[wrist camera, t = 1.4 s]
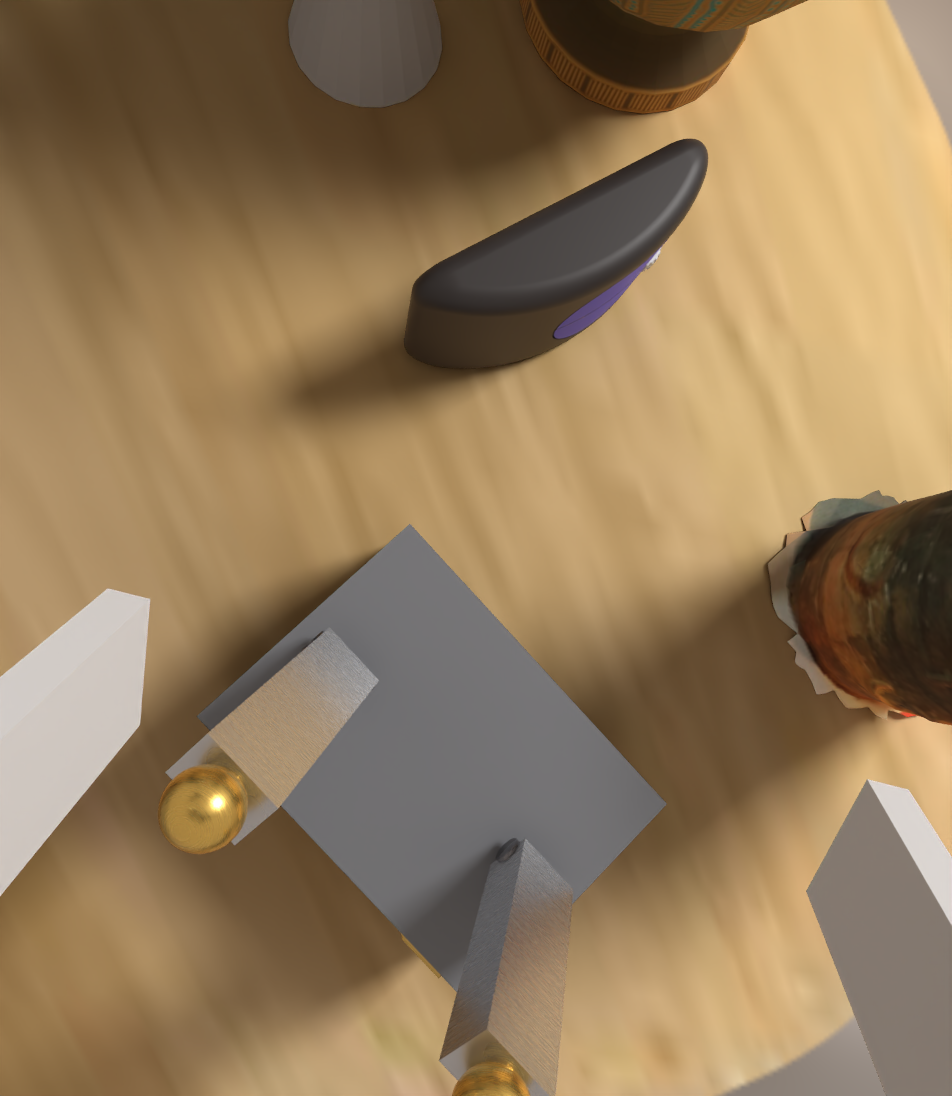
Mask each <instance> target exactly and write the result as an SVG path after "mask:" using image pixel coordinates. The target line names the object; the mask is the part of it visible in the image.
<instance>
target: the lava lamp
mask: <svg viewBox="0 0 952 1096" xmlns="http://www.w3.org/2000/svg"><path fill="white" fill-rule="evenodd" d="M288 28H289V43H290V47H291V49H292V51H293V54H294V56H295V59H296V61H297V63H298V66H299V67H300V69H301V70H302V71H303V72H304V73H305V75H306V76H307V77H308V78H309V79H310V81H311V82H312V83H313V84H314V85H315V86H316V87H318V88H319V89H321V90H322V91H324V92H325V93H327V94H328V95H330V96H331V97H333V98H334V99H335V100H338V101H342V102H345V103H348V104H351V105H354V106H358V107H387V106H390V105H394V104H397V103H400V102H404V101H407V100H408V99H409V98H411V97H412V96H414V95H415V94H416V93H418V92H419V91H420V90H422V89H423V88H425V86H426V85H427V83H428V82H429V80H430V79H431V77H432V76H433V74H434V73H435V72H436V70H437V67H438V63H439V59H440V56H441V52H442V37H441V26H440V22H439V18H438V14H437V11H436V7H435V3H434V0H294V2H293V5H292V9H291V12H290V16H289V19H288Z"/></svg>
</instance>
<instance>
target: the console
mask: <svg viewBox="0 0 952 1096" xmlns="http://www.w3.org/2000/svg"><path fill="white" fill-rule="evenodd" d="M329 627H330V628H331V629H332V630H333V631H334V633H335V634H336V635H337V636H338V637H339V638H340V639H341V640H342V641H343V642H344V643H345V644H346V645H347V647H348V648H349V649H350V650H351V651H352V652H353V653H354V654H355V655H356V656H357V657H358V658H359V659H360V661H361V662H362V663H363V664H364V665H365V666H366V667H367V668H368V669H369V670H370V671H371V672H372V673H373V675H374V676H375V677H376V678H377V679H378V680H379V681H378V682H377V684H376V685H375V687H374V689H373V690H372V691H371V692H370V693H369V694H368V695H367V696H366V698H365V699H364V700H363V702H362V703H361V704H360V705H359V707H358V708H357V709H356V710H355V712H354V713H353V714H352V716H351V717H350V718H349V719H348V721H347V722H346V723H345V724H344V726H343V727H342V728H341V729H340V731H339V732H338V733H337V735H336V736H335V737H334V738H333V740H332V741H331V742H330V743H329V745H328V746H327V747H326V749H325V750H324V751H323V752H322V754H321V755H320V756H319V757H318V759H317V760H316V761H315V763H314V764H313V765H312V766H311V768H310V769H309V770H308V771H307V773H306V774H305V775H304V776H303V778H302V779H301V780H300V782H299V783H298V784H297V785H296V787H295V788H294V789H293V790H292V792H291V793H290V794H289V796H288V797H287V798H286V799H285V801H284V802H283V803H282V804H281V806H282V807H283V808H284V809H285V811H286V812H287V813H288V814H289V815H290V816H291V817H292V818H293V819H294V820H295V821H296V822H297V823H298V824H299V825H300V826H301V827H302V829H303V830H304V831H305V832H306V833H307V834H308V835H309V836H310V837H311V838H312V839H313V840H314V841H315V842H316V843H317V844H318V845H319V847H320V848H321V849H322V850H323V851H324V852H325V853H326V854H327V855H328V856H329V857H330V858H331V859H332V860H333V861H334V862H335V863H336V865H337V866H338V867H339V868H340V869H341V870H342V871H343V872H344V873H345V874H346V875H347V876H348V877H349V878H350V879H351V880H352V882H353V883H354V884H355V885H356V886H357V887H358V888H359V889H360V890H361V891H362V892H363V893H364V894H365V895H366V896H367V897H368V898H369V900H370V901H371V902H372V903H373V904H374V905H375V906H376V907H377V908H378V909H379V910H380V911H381V912H382V913H383V914H384V915H385V916H386V918H387V919H388V920H389V921H390V922H391V923H392V924H393V925H394V926H395V927H396V928H397V929H398V930H399V931H400V932H401V936H402V940H403V941H404V942H405V943H406V944H407V945H408V946H409V948H410V949H411V950H412V951H413V952H414V953H415V954H416V955H417V956H418V957H419V958H420V959H421V960H422V961H423V962H424V963H425V964H426V966H427V967H428V968H429V969H430V970H431V971H432V972H433V973H434V974H435V975H436V976H437V977H438V978H440V977H441V976H442V977H443V978H444V979H445V980H446V981H447V982H448V983H449V984H450V985H451V986H452V987H453V988H454V990H455V991H456V992H457V990H458V986H459V983H460V979H461V975H462V971H463V967H464V964H465V960H466V956H467V952H468V948H469V944H470V941H471V937H472V933H473V929H474V925H475V922H476V918H477V914H478V910H479V906H480V902H481V899H482V895H483V891H484V887H485V883H486V879H487V876H488V872H489V868H490V864H491V863H492V862H493V861H495V860H496V855H497V853H498V851H499V850H500V848H501V847H502V846H503V845H504V844H505V843H506V842H507V841H509V840H510V839H512V838H516V839H517V840H518V841H519V842H520V841H522V840H523V839H524V838H526V839H527V840H528V841H529V842H530V843H531V844H532V846H533V847H534V848H535V849H536V850H537V851H538V852H539V853H540V854H541V855H542V856H543V857H544V858H545V860H546V861H547V862H548V863H549V864H550V865H551V866H552V867H553V868H554V869H555V870H556V871H557V872H558V874H559V875H560V876H561V877H562V878H563V879H564V880H565V881H566V882H567V883H568V884H569V885H570V886H571V888H572V889H573V899H572V904H573V903H574V902H575V901H576V900H577V899H578V898H579V897H580V895H581V894H582V893H583V892H584V891H585V890H586V889H587V888H588V887H589V886H590V885H591V884H592V883H593V882H594V881H595V880H596V879H597V877H598V876H599V875H600V874H601V873H602V872H603V871H604V870H605V869H606V868H607V867H608V866H609V865H610V864H611V863H612V862H613V861H614V860H615V858H616V857H617V856H618V855H619V854H620V853H621V852H622V851H623V850H624V849H625V848H626V847H627V846H628V845H629V844H630V843H631V842H632V840H633V839H634V838H635V837H636V836H637V835H638V834H639V833H640V832H641V831H642V830H643V829H644V828H645V827H646V826H647V825H648V824H649V823H650V821H651V820H652V819H653V818H654V817H655V816H656V815H657V814H658V813H659V812H660V811H661V810H662V809H663V808H664V807H665V806H666V805H667V804H666V802H665V801H664V800H663V799H662V798H661V797H660V796H659V795H658V794H657V793H656V792H655V790H654V789H653V788H652V787H651V786H650V785H649V784H648V783H647V782H646V781H645V780H644V778H643V777H642V776H641V775H640V774H639V773H638V772H637V771H636V770H635V769H634V768H633V766H632V765H631V764H630V763H629V762H628V761H627V760H626V759H625V758H624V757H623V756H622V754H621V753H620V752H619V751H618V750H617V749H616V748H615V747H614V746H613V745H612V744H611V742H610V741H609V740H608V739H607V738H606V737H605V736H604V735H603V734H602V733H601V732H600V731H599V729H598V728H597V727H596V726H595V725H594V724H593V723H592V722H591V721H590V720H589V719H588V717H587V716H586V715H585V714H584V713H583V712H582V711H581V710H580V709H579V708H578V707H577V705H576V704H575V703H574V702H573V701H572V700H571V699H570V698H569V697H568V696H567V695H566V693H565V692H564V691H563V690H562V689H561V688H560V687H559V686H558V685H557V684H556V683H555V681H554V680H553V679H552V678H551V677H550V676H549V675H548V674H547V673H546V672H545V671H544V669H543V668H542V667H541V666H540V665H539V664H538V663H537V662H536V661H535V660H534V659H533V657H532V656H531V655H530V654H529V653H528V652H527V651H526V650H525V649H524V648H523V647H522V646H521V644H520V643H519V642H518V641H517V640H516V639H515V638H514V637H513V636H512V635H511V634H510V632H509V631H508V630H507V629H506V628H505V627H504V626H503V625H502V624H501V623H500V622H499V620H498V619H497V618H496V617H495V616H494V615H493V614H492V613H491V612H490V611H489V610H488V608H487V607H486V606H485V605H484V604H483V603H482V602H481V601H480V600H479V599H478V598H477V596H476V595H475V594H474V593H473V592H472V591H471V590H470V589H469V588H468V587H467V586H466V584H465V583H464V582H463V581H462V580H461V579H460V578H459V577H458V576H457V575H456V574H455V573H454V571H453V570H452V569H451V568H450V567H449V566H448V565H447V564H446V563H445V562H444V561H443V559H442V558H441V557H440V556H439V555H438V554H437V553H436V552H435V551H434V550H433V549H432V547H431V546H430V545H429V544H428V543H427V542H426V541H425V540H424V539H423V538H422V537H421V535H420V534H419V533H418V532H417V531H416V530H415V529H414V528H413V527H412V526H411V525H410V524H409V525H408V526H407V527H406V528H405V529H404V530H403V531H401V532H400V533H399V534H398V535H397V536H396V537H395V538H394V539H393V540H391V541H390V542H389V543H388V544H387V545H386V546H385V547H384V548H383V549H382V550H380V551H379V552H378V553H377V554H376V555H375V556H374V557H373V558H372V559H370V560H369V561H368V562H367V563H366V564H365V565H364V566H363V567H362V568H360V569H359V570H358V571H357V572H356V573H355V574H354V575H353V576H352V577H350V578H349V579H348V580H347V581H346V582H345V583H344V584H343V585H342V586H341V587H339V588H338V589H337V590H336V591H335V592H334V593H333V594H332V595H331V596H329V597H328V598H327V599H326V600H325V601H324V602H323V603H322V604H321V605H319V606H318V607H317V608H316V609H315V610H314V611H313V612H312V613H311V614H309V615H308V616H307V617H306V618H305V619H304V620H303V621H302V622H301V623H300V624H298V625H297V626H296V627H295V628H294V629H293V630H292V631H291V632H290V633H288V634H287V635H286V636H285V637H284V638H283V639H282V640H281V641H280V642H278V643H277V644H276V645H275V646H274V647H273V648H272V649H271V650H270V651H269V652H267V653H266V654H265V655H264V656H263V657H262V658H261V659H260V660H259V661H257V662H256V663H255V664H254V665H253V666H252V667H251V668H250V669H249V670H247V671H246V672H245V673H244V674H243V675H242V676H241V677H240V678H239V679H237V680H236V681H235V682H234V683H233V684H232V685H231V686H230V687H229V688H228V689H226V690H225V691H224V692H223V693H222V694H221V695H220V696H219V697H218V698H216V699H215V700H214V701H213V702H212V703H211V704H210V705H209V706H208V707H206V708H205V709H204V710H203V711H202V712H201V713H200V714H199V715H198V716H197V717H198V718H199V719H200V721H201V722H202V723H203V724H204V725H205V726H206V727H207V728H208V729H209V730H210V731H211V730H212V729H213V728H214V727H215V726H216V725H218V724H219V723H220V722H221V721H222V720H223V719H225V718H226V717H227V716H228V715H229V714H230V713H231V712H233V711H234V710H235V709H236V708H237V707H238V706H240V705H241V704H242V703H243V702H244V701H245V700H246V699H248V698H249V697H250V696H251V695H252V694H253V693H255V692H256V691H257V690H258V689H259V688H260V687H261V686H263V685H264V684H265V683H266V682H267V681H268V680H269V679H271V678H272V677H273V676H274V675H275V674H276V673H278V672H279V671H280V670H281V669H282V668H283V667H284V666H286V665H287V664H288V663H289V662H290V661H291V660H293V659H294V658H295V657H296V656H297V655H298V654H299V653H301V652H302V651H301V650H302V649H303V648H304V647H305V646H306V645H307V644H308V643H309V642H310V641H311V640H313V639H314V638H315V637H316V636H317V635H318V634H319V633H320V632H321V631H324V632H325V631H326V630H327V629H328V628H329Z"/></svg>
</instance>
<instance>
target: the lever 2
mask: <svg viewBox="0 0 952 1096" xmlns="http://www.w3.org/2000/svg"><path fill="white" fill-rule="evenodd" d="M572 899H573V889H572V888H571V886H570V885H569V884H568V883H567V882H566V881H565V880H564V879H563V878H562V877H561V876H560V875H559V874H558V872H557V871H556V870H555V869H554V868H553V867H552V866H551V865H550V864H549V863H548V862H547V861H546V860H545V858H544V857H543V856H542V855H541V854H540V853H539V852H538V851H537V850H536V849H535V848H534V847H533V846H532V844H531V843H530V842H529V841H528V840H527V839H526V838H524V839H523V840H522V841H520V842H519V841H518V840H517V839H516V838H512V839H510V840H509V841H507V842H506V843H505V844H504V845H503V846H502V847H501V848H500V850H499V851H498V853H497V855H496V860H495V861H493V862H492V863H491V864H490V868H489V872H488V876H487V879H486V883H485V887H484V891H483V895H482V899H481V902H480V906H479V910H478V914H477V918H476V922H475V925H474V929H473V933H472V937H471V941H470V944H469V948H468V952H467V956H466V960H465V964H464V967H463V971H462V975H461V979H460V983H459V986H458V990H457V994H456V998H455V1002H454V1006H453V1009H452V1013H451V1017H450V1021H449V1025H448V1029H447V1032H446V1036H445V1040H444V1044H443V1048H442V1051H441V1055H440V1059H439V1061H440V1062H441V1063H442V1064H443V1065H444V1066H445V1068H446V1069H447V1070H448V1071H449V1072H450V1073H451V1074H452V1075H453V1076H454V1077H455V1078H456V1079H457V1080H458V1082H457V1084H456V1086H455V1088H454V1090H453V1093H452V1096H555V1094H556V1083H557V1071H558V1060H559V1048H560V1037H561V1025H562V1014H563V1002H564V991H565V980H566V968H567V957H568V945H569V934H570V922H571V911H572Z"/></svg>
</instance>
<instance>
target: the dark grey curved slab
mask: <svg viewBox="0 0 952 1096" xmlns="http://www.w3.org/2000/svg"><path fill="white" fill-rule="evenodd" d="M707 166H708V153H707V149H706V147H705V146H704V144H703V143H702V142H700V141H699V140H696V139H683V140H679V141H676V142H674V143H671V144H669V145H667V146H665V147H663V148H661V149H660V150H658V151H656V152H654V153H652V154H650V155H648V156H646V157H644V158H642V159H640V160H638V161H636V162H634V163H632V164H630V165H628V166H626V167H624V168H622V169H620V170H619V171H617V172H615V173H613V174H611V175H609V176H607V177H605V178H603V179H601V180H599V181H597V182H595V183H593V184H591V185H589V186H587V187H585V188H583V189H581V190H580V191H578V192H576V193H574V194H572V195H570V196H568V197H566V198H564V199H562V200H560V201H558V202H556V203H554V204H552V205H550V206H548V207H546V208H544V209H542V210H541V211H539V212H537V213H535V214H533V215H531V216H529V217H527V218H525V219H523V220H521V221H519V222H517V223H515V224H513V225H511V226H509V227H507V228H505V229H503V230H502V231H500V232H498V233H496V234H494V235H492V236H490V237H488V238H486V239H484V240H482V241H480V242H478V243H476V244H474V245H472V246H470V247H468V248H466V249H464V250H462V251H461V252H459V253H457V254H455V255H453V256H451V257H449V258H447V259H445V260H443V261H441V262H439V263H438V264H436V265H434V266H433V267H431V268H430V269H429V270H427V271H426V272H425V273H423V274H422V275H421V276H420V277H419V278H418V279H417V280H416V281H415V283H414V285H413V288H412V294H411V300H410V306H409V312H408V319H407V325H406V331H405V337H404V345H405V348H406V350H407V352H408V353H409V355H411V356H412V357H413V358H415V359H417V360H419V361H421V362H424V363H427V364H430V365H434V366H439V367H447V368H483V367H491V366H498V365H503V364H508V363H512V362H516V361H520V360H524V359H527V358H530V357H533V356H536V355H538V354H541V353H543V352H545V351H548V350H550V349H552V348H554V347H556V346H558V345H560V344H562V343H564V342H566V341H568V340H569V339H571V338H572V337H574V336H576V335H577V334H579V333H580V332H582V331H583V330H585V329H586V328H587V327H589V326H590V325H591V324H593V323H594V322H595V321H596V320H597V319H599V318H600V317H601V316H602V315H603V314H604V313H605V312H606V311H607V310H608V309H610V307H611V306H612V305H613V304H614V303H615V302H616V301H617V300H618V299H619V298H620V296H621V295H622V294H623V293H624V292H625V290H626V289H627V288H628V287H629V286H630V284H631V283H632V282H633V281H634V280H635V278H636V277H637V276H638V275H639V273H640V272H643V271H645V270H646V269H649V268H650V267H651V265H653V264H654V262H655V261H656V260H657V259H658V256H659V255H660V250H661V247H662V245H663V244H664V243H665V242H666V241H667V239H668V238H669V237H670V236H671V235H672V233H673V232H674V231H675V230H676V228H677V227H678V226H679V224H680V223H681V222H682V220H683V219H684V217H685V216H686V214H687V213H688V211H689V210H690V208H691V206H692V204H693V202H694V201H695V199H696V197H697V195H698V193H699V191H700V189H701V186H702V184H703V181H704V178H705V175H706V171H707ZM566 325H567V326H566Z"/></svg>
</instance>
